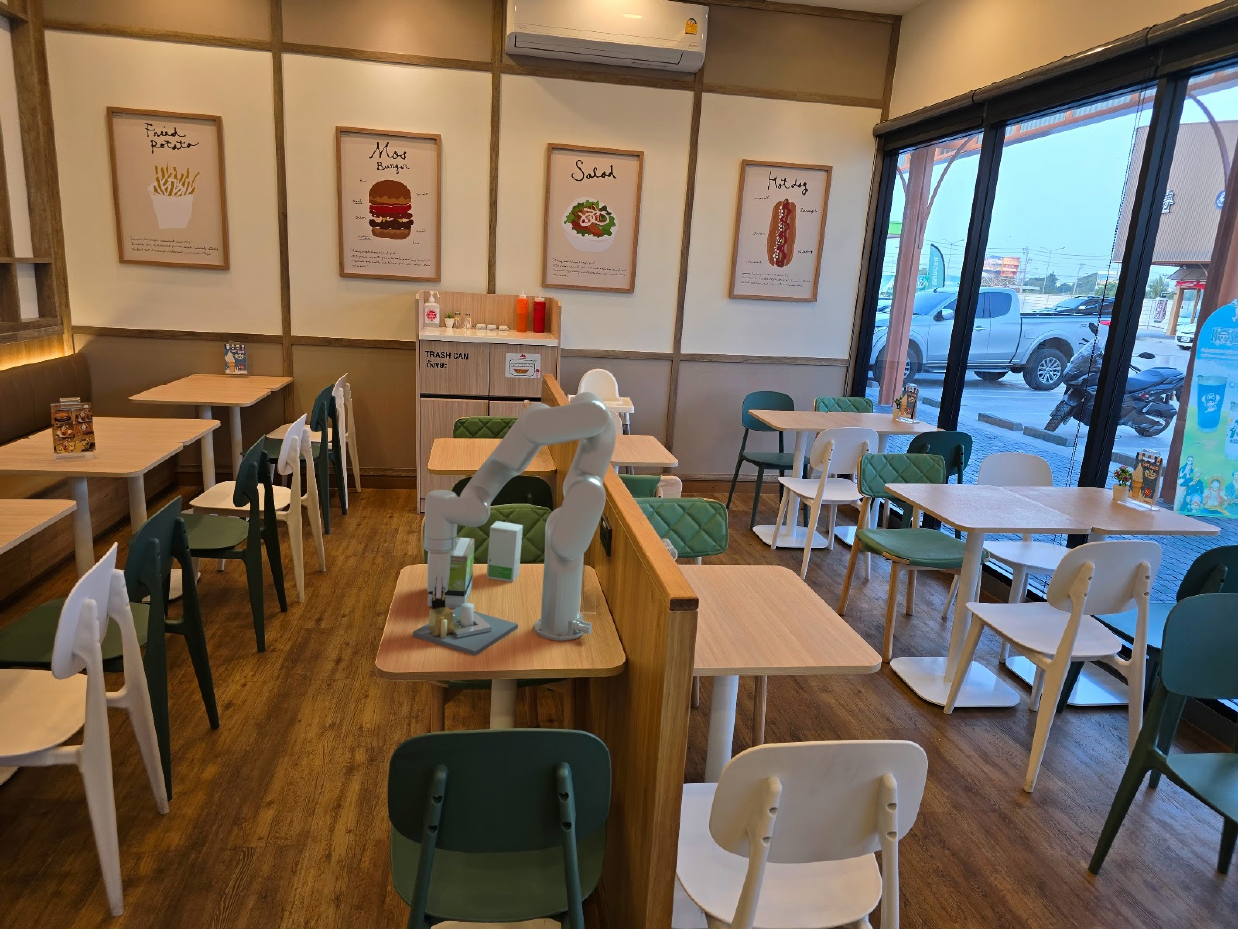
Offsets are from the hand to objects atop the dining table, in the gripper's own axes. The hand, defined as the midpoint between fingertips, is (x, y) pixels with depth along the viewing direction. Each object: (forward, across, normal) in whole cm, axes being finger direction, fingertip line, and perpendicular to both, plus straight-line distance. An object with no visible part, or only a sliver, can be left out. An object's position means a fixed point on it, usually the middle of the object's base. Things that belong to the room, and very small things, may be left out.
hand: (438, 613), depth 198 cm
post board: (+4, +2, +7) cm, 8 cm away
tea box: (+4, -20, +3) cm, 21 cm away
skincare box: (+4, -35, +18) cm, 39 cm away
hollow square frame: (+3, +3, +5) cm, 6 cm away
